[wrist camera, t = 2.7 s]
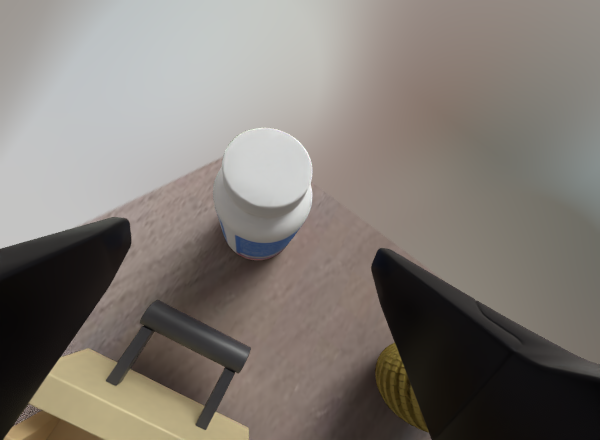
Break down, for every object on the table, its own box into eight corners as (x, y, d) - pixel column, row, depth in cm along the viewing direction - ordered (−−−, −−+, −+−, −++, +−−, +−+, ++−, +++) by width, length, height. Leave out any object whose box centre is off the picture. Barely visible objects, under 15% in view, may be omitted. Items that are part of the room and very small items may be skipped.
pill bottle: (304, 227, 21) (352, 171, 12) (259, 275, 19) (275, 255, 10) (256, 183, 21) (267, 95, 12) (207, 227, 19) (175, 161, 10)
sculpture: (440, 330, 21) (553, 349, 13) (452, 386, 20) (581, 440, 12) (352, 340, 19) (424, 367, 11) (358, 401, 18) (443, 477, 10)
